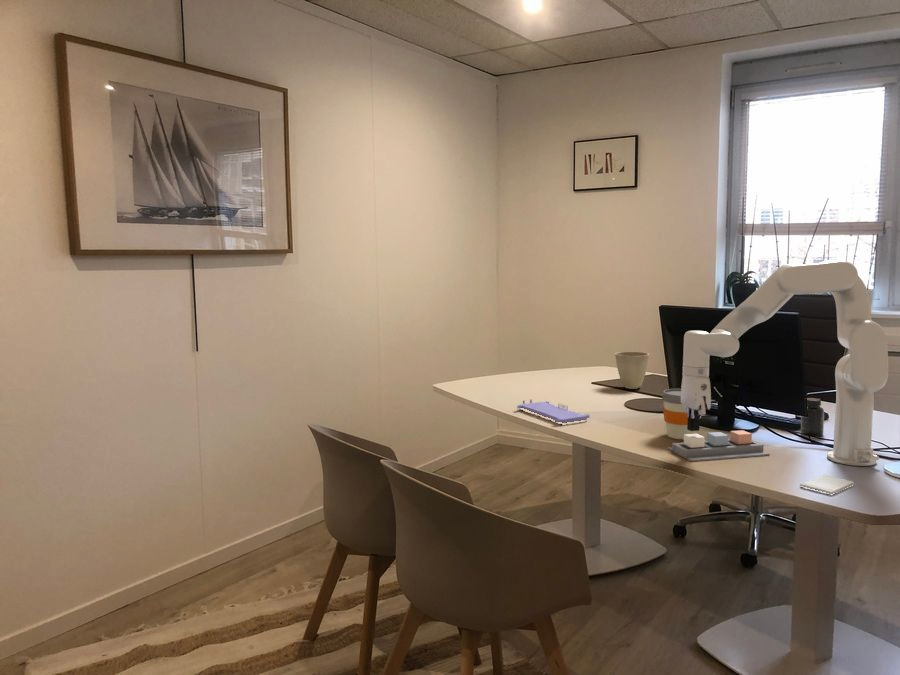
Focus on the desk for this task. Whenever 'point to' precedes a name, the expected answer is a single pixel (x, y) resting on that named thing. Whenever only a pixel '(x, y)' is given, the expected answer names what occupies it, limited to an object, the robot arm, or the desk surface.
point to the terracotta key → (741, 437)
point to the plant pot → (632, 367)
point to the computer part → (553, 411)
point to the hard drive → (827, 484)
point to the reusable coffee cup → (675, 414)
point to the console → (719, 451)
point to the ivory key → (694, 440)
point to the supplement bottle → (813, 418)
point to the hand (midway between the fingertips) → (693, 430)
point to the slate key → (717, 438)
